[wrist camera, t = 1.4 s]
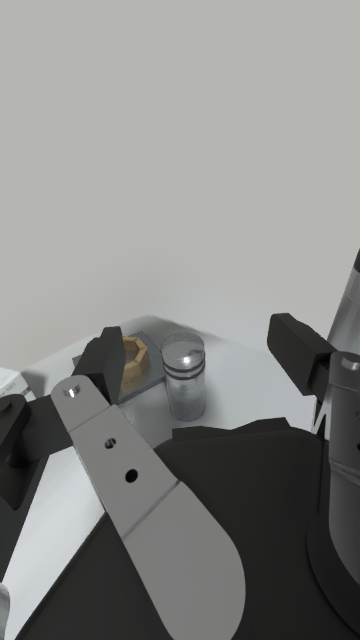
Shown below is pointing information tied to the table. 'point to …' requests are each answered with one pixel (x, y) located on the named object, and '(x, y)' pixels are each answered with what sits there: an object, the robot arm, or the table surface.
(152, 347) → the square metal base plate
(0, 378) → the skincare box
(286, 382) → the table surface
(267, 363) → the table surface
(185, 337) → the piston
